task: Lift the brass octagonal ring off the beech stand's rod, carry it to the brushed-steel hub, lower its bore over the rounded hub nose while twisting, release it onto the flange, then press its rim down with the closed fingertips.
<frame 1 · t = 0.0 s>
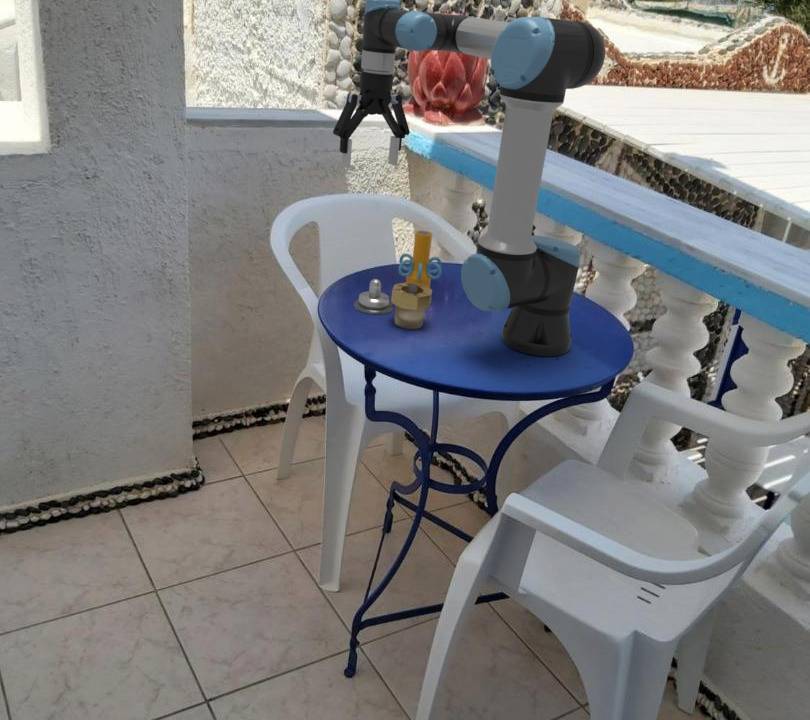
hand: (369, 165, 183), 28 cm above the table, fingers open, 13 cm apart
ring: (411, 302, 169), point 5 cm above the table, touching stand
stand: (408, 323, 172), on the table
cylinder: (417, 292, 190), on the table
hub: (373, 306, 178), on the table
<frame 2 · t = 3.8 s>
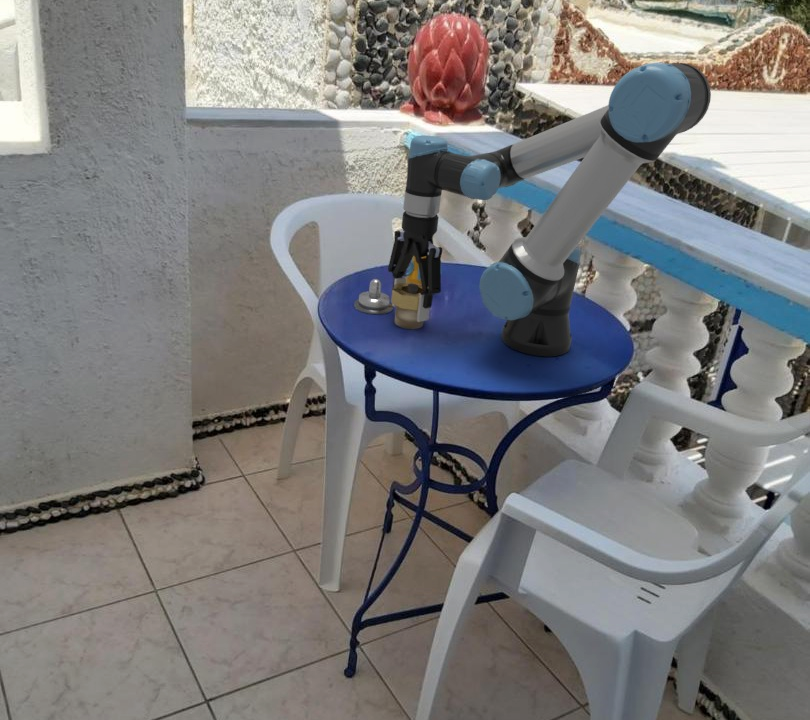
hand: (409, 312, 170), 3 cm above the table, fingers closed on ring, 8 cm apart
ring: (411, 302, 169), point 5 cm above the table, touching gripper, stand
everything else where it was.
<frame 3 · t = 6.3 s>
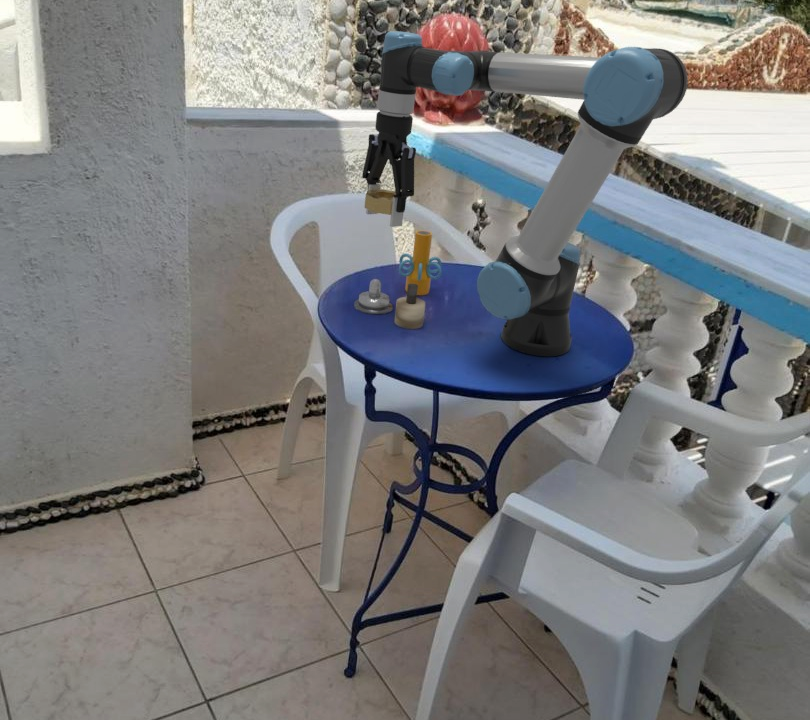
hand: (383, 219, 168), 21 cm above the table, fingers closed on ring, 8 cm apart
ring: (384, 208, 167), point 23 cm above the table, touching gripper
everything else where it was.
when the fingers open (2 cm above the table, at t = 9.1 s): ring drops 2 cm, resting on hub.
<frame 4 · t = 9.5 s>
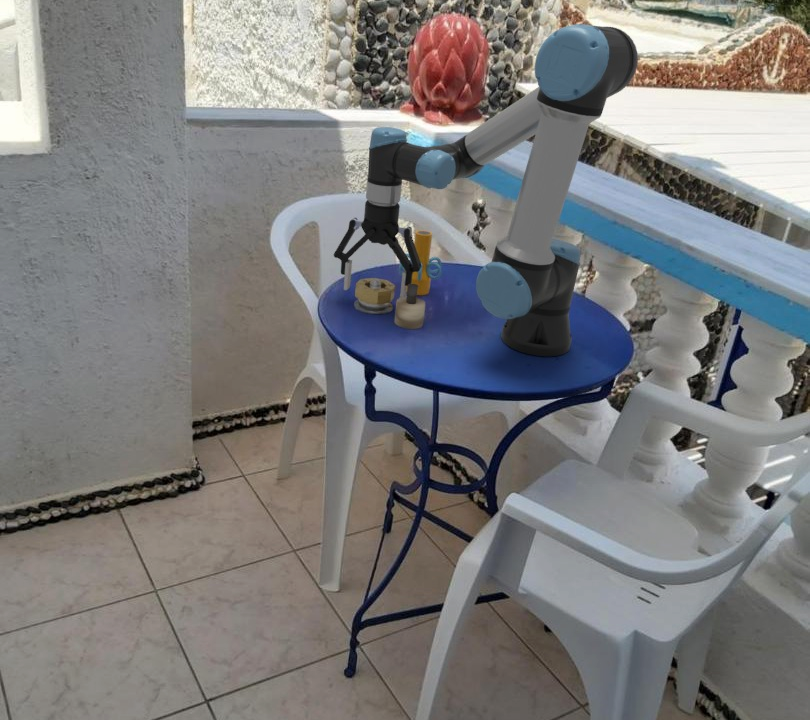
hand: (374, 293, 177), 3 cm above the table, fingers open, 13 cm apart
ring: (374, 296, 177), point 2 cm above the table, touching hub
everything else where it was.
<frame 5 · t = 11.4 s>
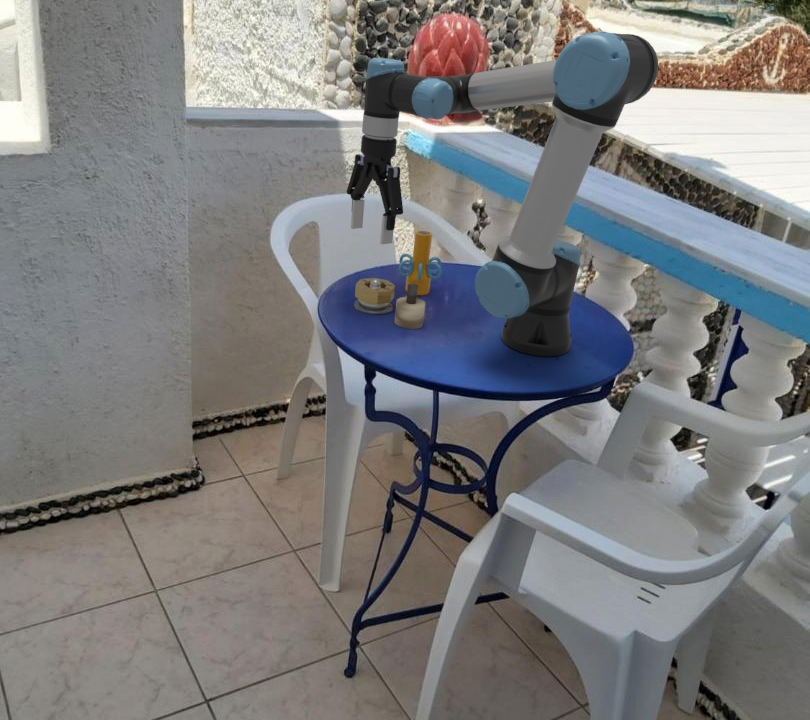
hand: (371, 235, 173), 16 cm above the table, fingers open, 11 cm apart
nothing on the table moved.
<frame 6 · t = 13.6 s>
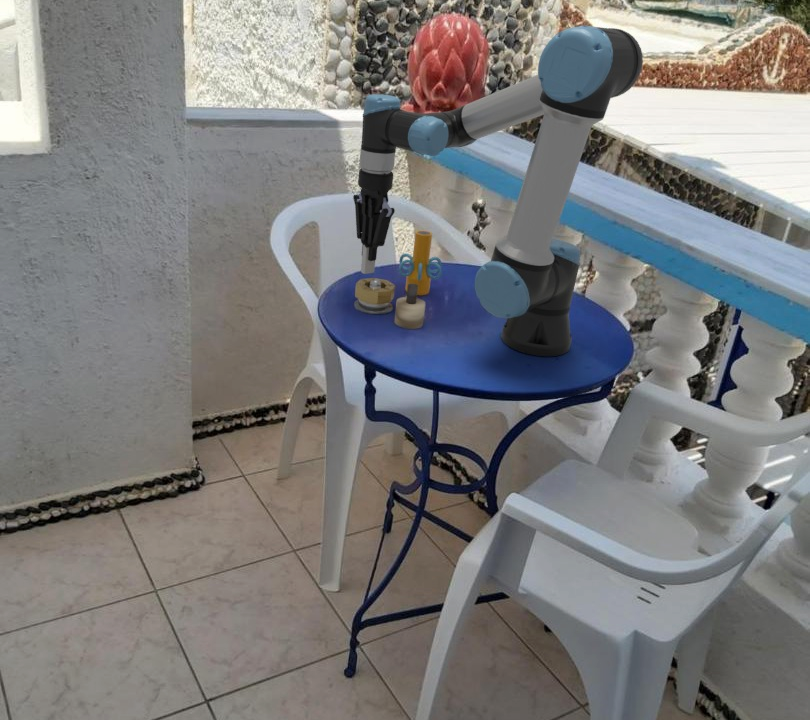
hand: (367, 272, 177), 7 cm above the table, fingers closed
nothing on the table moved.
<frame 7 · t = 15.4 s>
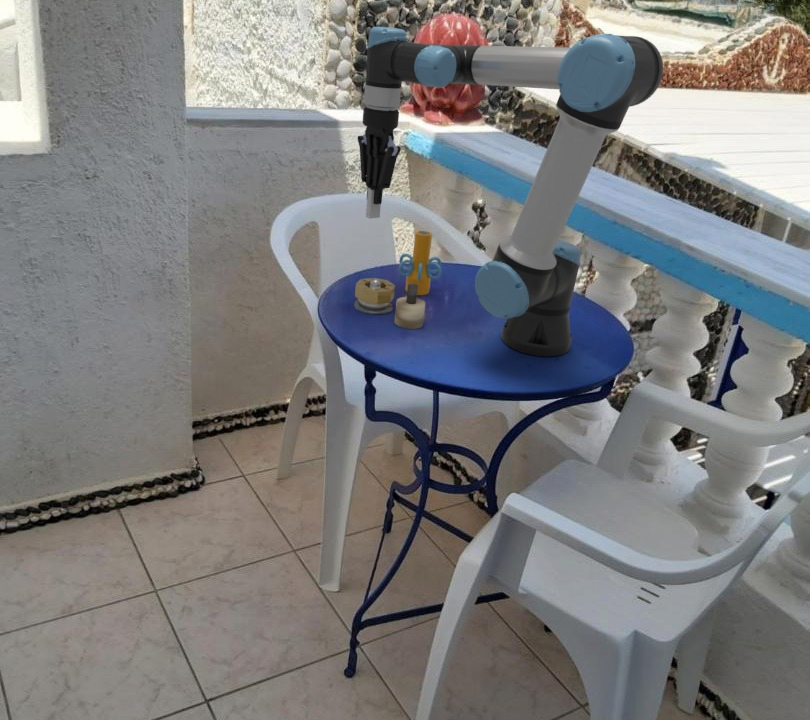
hand: (372, 217, 171), 20 cm above the table, fingers closed
nothing on the table moved.
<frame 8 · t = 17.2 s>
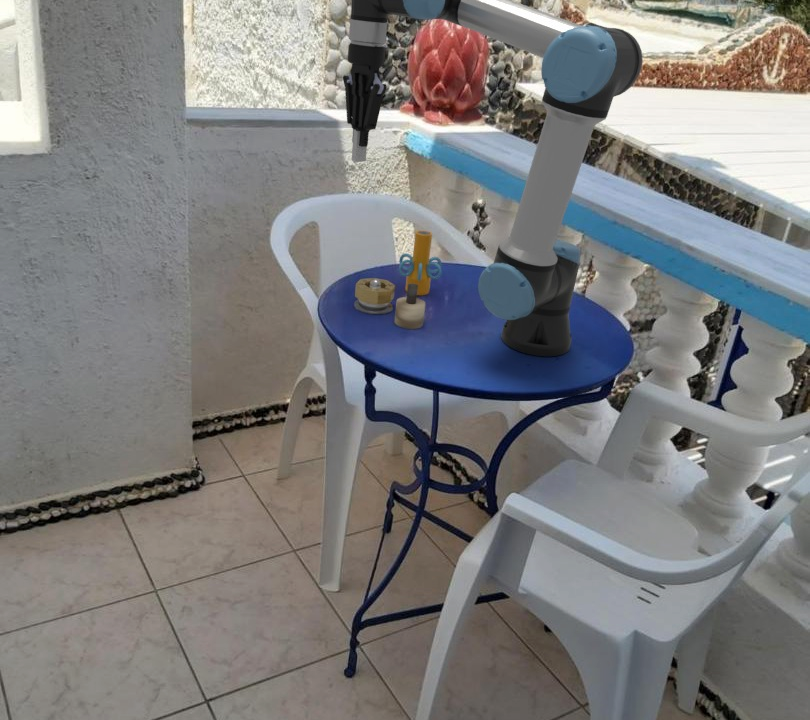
hand: (358, 160, 166), 32 cm above the table, fingers closed
nothing on the table moved.
at the end: ring 0.1 cm off-centre on the hub, point 2.5 cm above the hub's base; ring tilted 0°; the gripper is holding nothing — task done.
